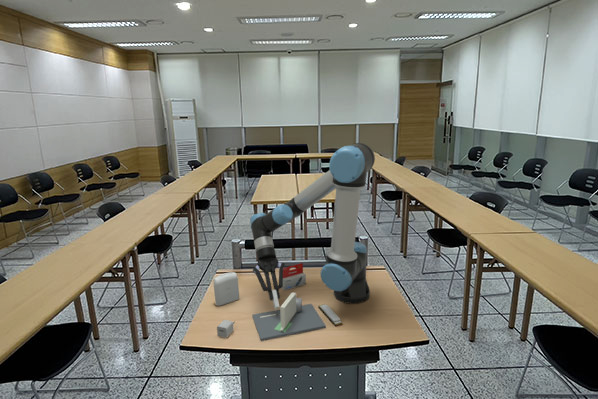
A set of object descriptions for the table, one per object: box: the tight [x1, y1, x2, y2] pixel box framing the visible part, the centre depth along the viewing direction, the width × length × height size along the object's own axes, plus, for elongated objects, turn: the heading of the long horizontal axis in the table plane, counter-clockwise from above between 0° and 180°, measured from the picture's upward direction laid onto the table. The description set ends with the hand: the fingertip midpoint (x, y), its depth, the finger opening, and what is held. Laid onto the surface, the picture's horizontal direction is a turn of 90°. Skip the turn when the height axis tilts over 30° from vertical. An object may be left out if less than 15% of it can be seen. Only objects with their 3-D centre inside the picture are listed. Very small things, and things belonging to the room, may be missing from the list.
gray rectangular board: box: [251, 303, 327, 342], centre depth 140 cm, size 24×16×1 cm, turn 107°
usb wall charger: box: [216, 319, 236, 339], centre depth 135 cm, size 4×7×4 cm, turn 160°
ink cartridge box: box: [281, 262, 307, 291], centre depth 166 cm, size 2×11×10 cm, turn 121°
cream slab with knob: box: [279, 292, 303, 331], centre depth 139 cm, size 17×4×8 cm, turn 159°
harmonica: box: [317, 303, 343, 328], centre depth 144 cm, size 15×3×2 cm, turn 23°
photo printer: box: [212, 271, 240, 306], centre depth 154 cm, size 10×4×12 cm, turn 123°
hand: (276, 307), depth 141 cm, fingers closed
